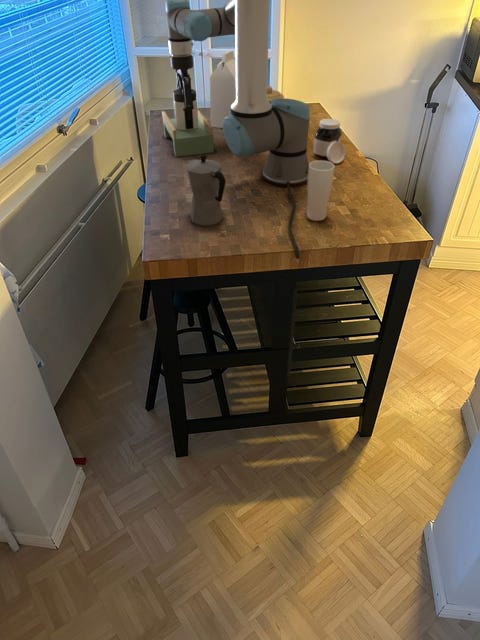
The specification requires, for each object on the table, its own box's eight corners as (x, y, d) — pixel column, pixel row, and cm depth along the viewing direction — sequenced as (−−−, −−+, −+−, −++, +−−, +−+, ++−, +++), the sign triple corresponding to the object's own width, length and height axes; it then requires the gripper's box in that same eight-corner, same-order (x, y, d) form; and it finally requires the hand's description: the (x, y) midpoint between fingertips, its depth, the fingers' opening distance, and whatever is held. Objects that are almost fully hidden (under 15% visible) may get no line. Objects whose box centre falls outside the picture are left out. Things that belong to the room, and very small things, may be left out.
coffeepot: (179, 214, 134) (173, 151, 123) (206, 204, 139) (202, 143, 127) (211, 236, 125) (208, 170, 114) (239, 224, 130) (238, 160, 118)
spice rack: (213, 152, 170) (212, 125, 164) (175, 156, 167) (173, 130, 161) (199, 132, 186) (198, 107, 180) (164, 136, 183) (161, 111, 177)
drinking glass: (311, 225, 129) (317, 172, 119) (299, 214, 134) (303, 162, 124) (333, 220, 131) (340, 167, 121) (320, 209, 136) (326, 158, 126)
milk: (235, 130, 188) (234, 56, 171) (210, 126, 191) (206, 54, 174) (248, 121, 196) (248, 50, 179) (223, 117, 200) (221, 47, 183)
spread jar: (323, 149, 171) (326, 115, 164) (351, 156, 166) (356, 121, 159) (306, 160, 164) (309, 125, 156) (336, 167, 159) (340, 132, 151)
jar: (184, 132, 168) (181, 96, 160) (170, 127, 172) (166, 91, 165) (203, 126, 173) (201, 91, 165) (189, 121, 177) (186, 86, 169)
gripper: (199, 60, 150) (203, 133, 165) (185, 47, 166) (190, 114, 181) (176, 62, 149) (182, 135, 163) (164, 48, 164) (171, 116, 179)
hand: (186, 124), depth 172 cm, fingers closed on jar, 9 cm apart
